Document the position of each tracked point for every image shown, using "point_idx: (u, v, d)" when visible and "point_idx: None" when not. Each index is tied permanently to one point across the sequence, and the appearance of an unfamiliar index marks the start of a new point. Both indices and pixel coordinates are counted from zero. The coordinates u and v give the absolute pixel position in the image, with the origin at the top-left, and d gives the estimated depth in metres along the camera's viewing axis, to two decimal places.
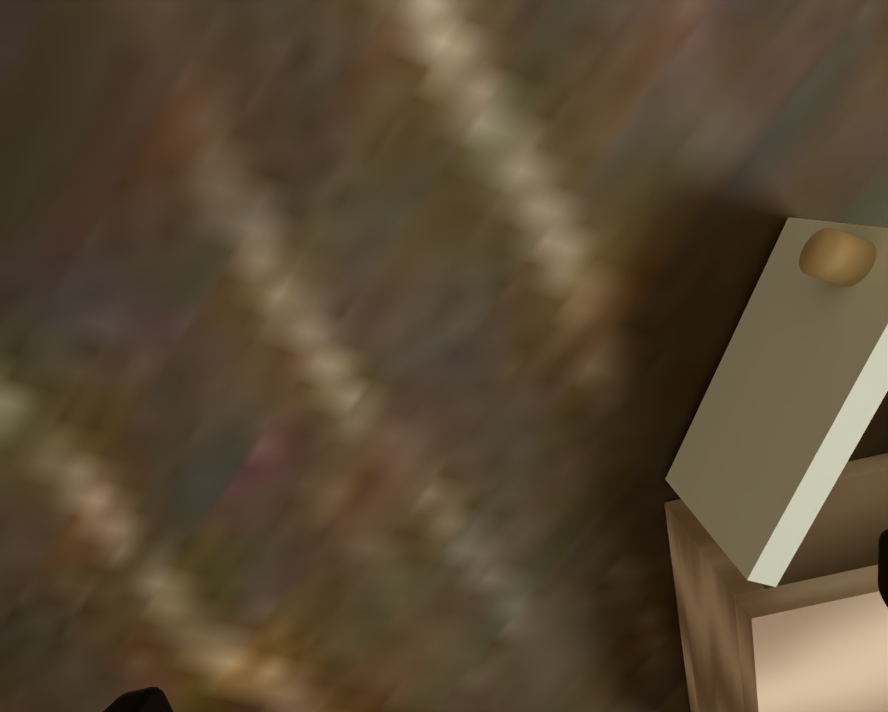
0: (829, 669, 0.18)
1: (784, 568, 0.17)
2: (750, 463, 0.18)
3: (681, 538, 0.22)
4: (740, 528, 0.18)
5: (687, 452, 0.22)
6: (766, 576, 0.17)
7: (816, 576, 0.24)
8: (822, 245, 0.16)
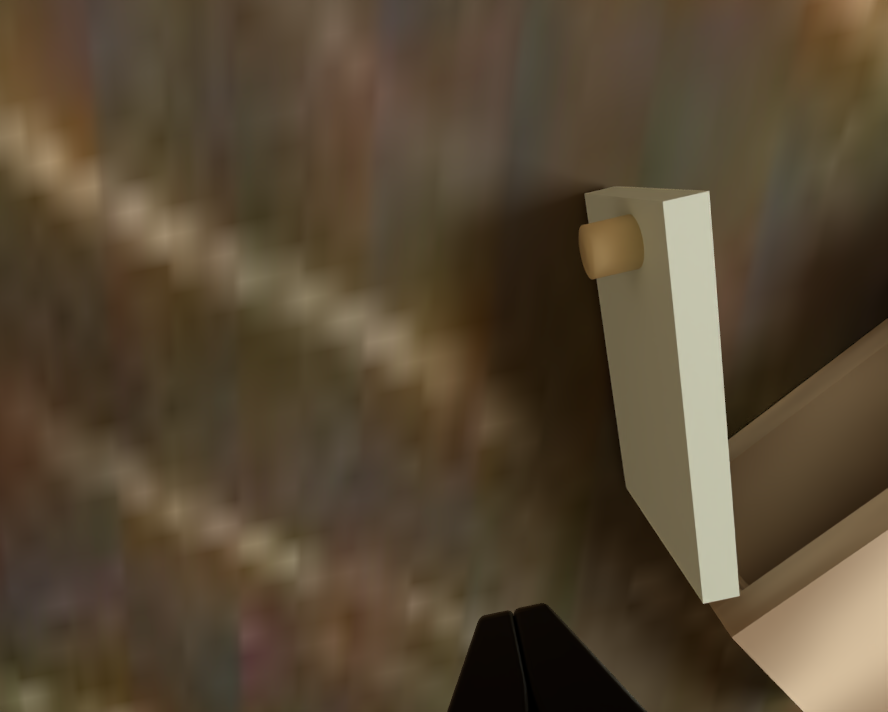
0: (855, 644, 0.16)
1: (736, 575, 0.15)
2: (660, 471, 0.16)
3: None
4: (680, 544, 0.16)
5: (626, 458, 0.20)
6: (721, 591, 0.15)
7: (845, 503, 0.21)
8: (586, 245, 0.14)
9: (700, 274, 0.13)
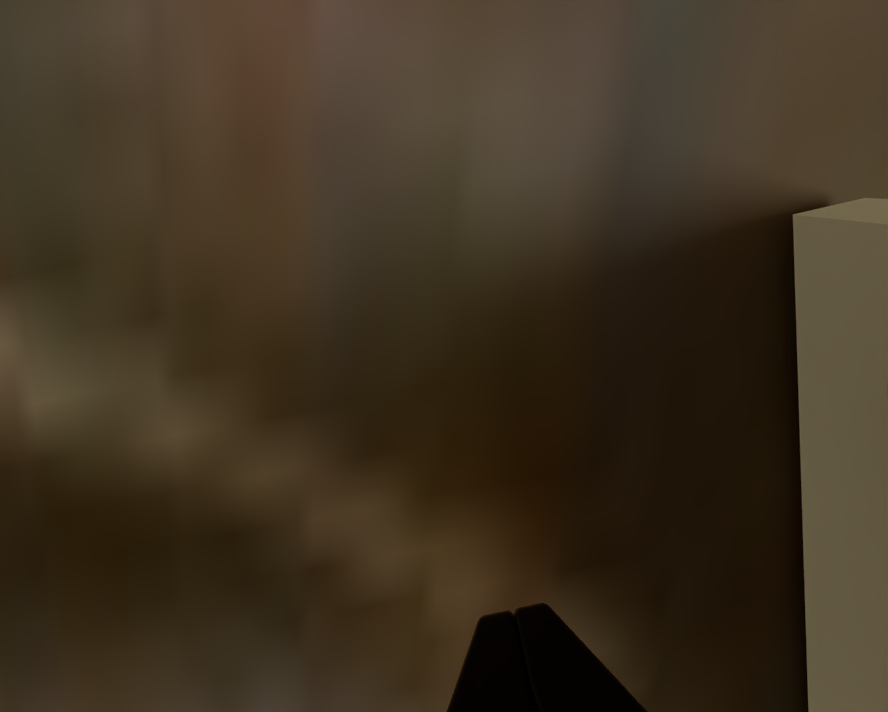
0: None
1: None
2: None
3: None
4: None
5: None
6: None
7: None
8: None
9: None
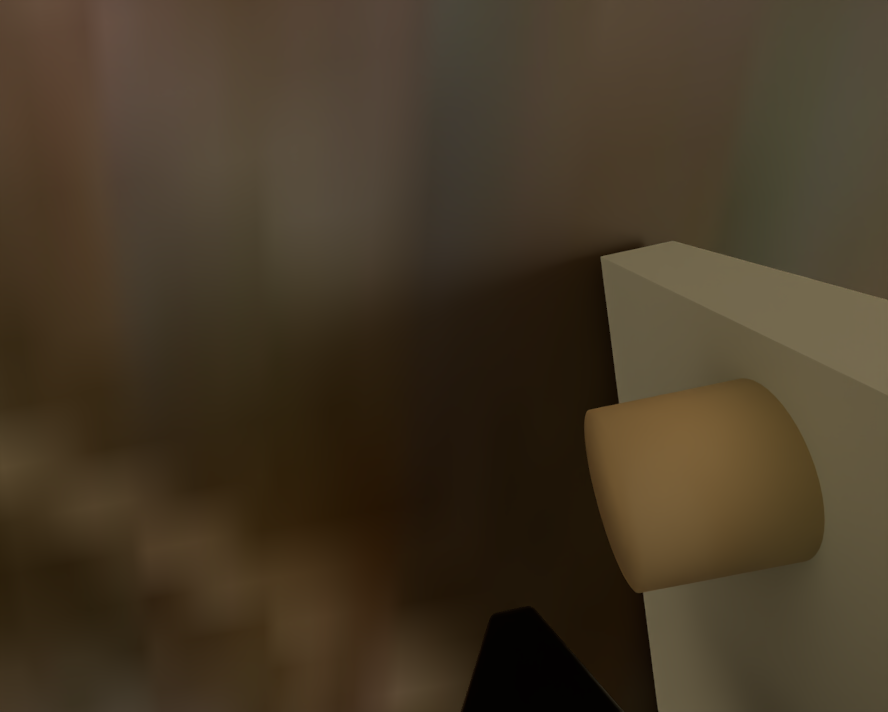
0: None
1: None
2: None
3: None
4: None
5: None
6: None
7: None
8: (610, 481, 0.04)
9: None
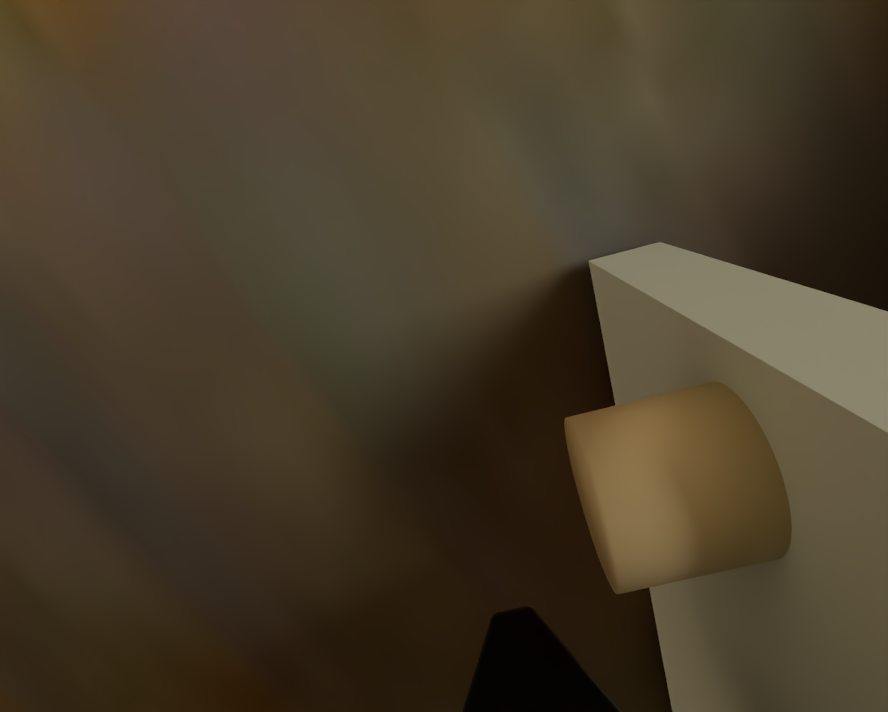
0: None
1: None
2: None
3: None
4: None
5: None
6: None
7: None
8: (587, 487, 0.04)
9: None
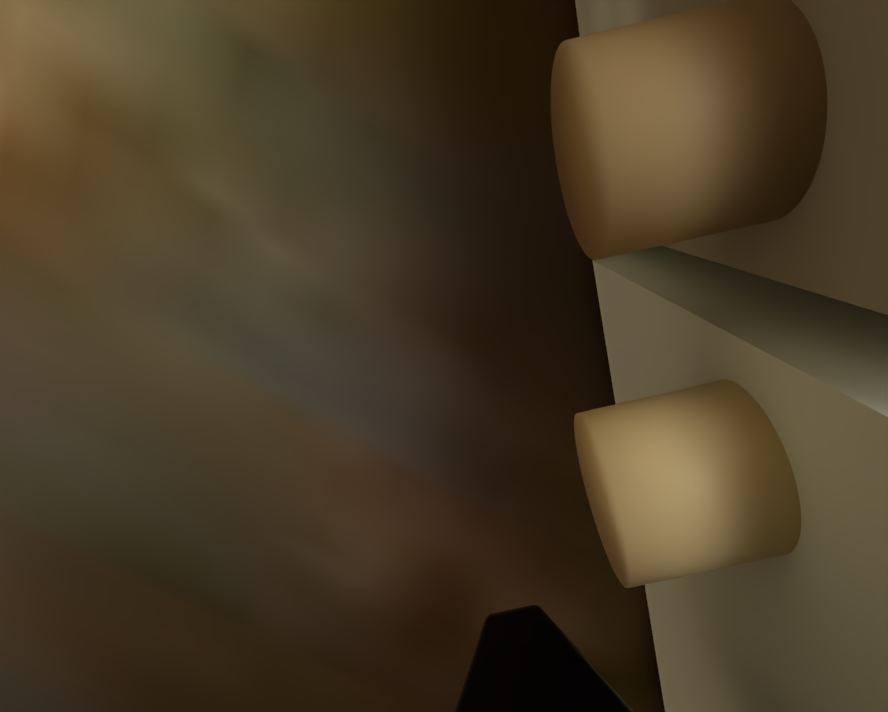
0: None
1: None
2: None
3: None
4: None
5: None
6: None
7: None
8: (597, 481, 0.04)
9: None
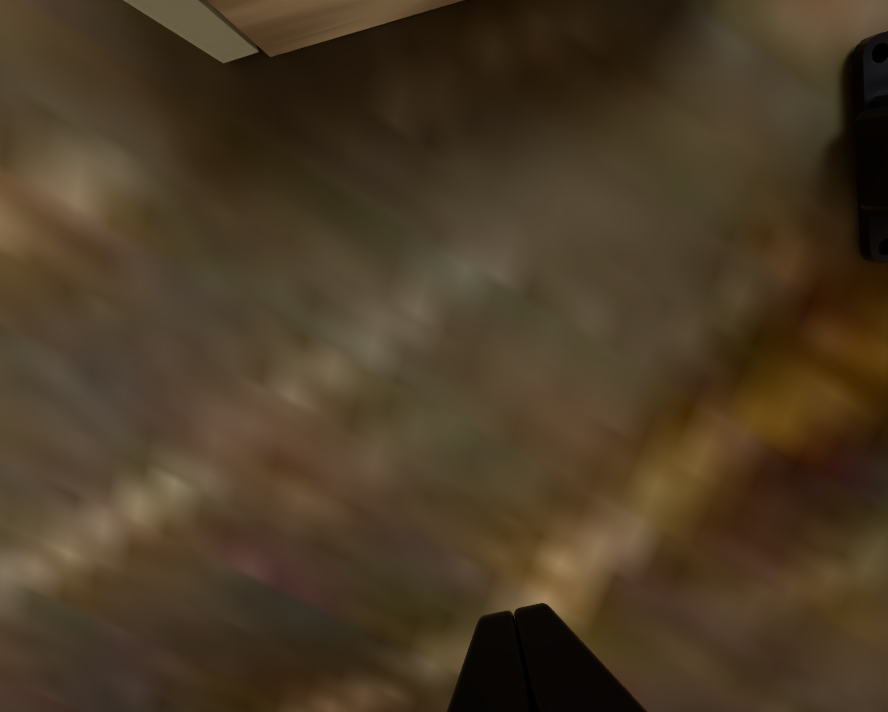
0: None
1: None
2: None
3: (285, 36, 0.14)
4: None
5: None
6: None
7: None
8: None
9: None
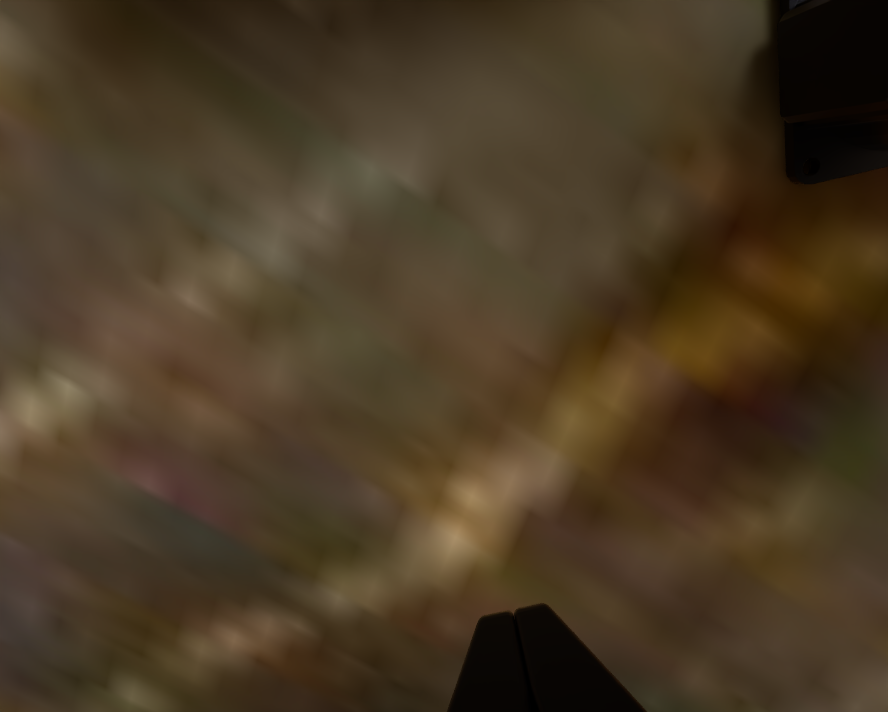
0: None
1: None
2: None
3: None
4: None
5: None
6: None
7: None
8: None
9: None
